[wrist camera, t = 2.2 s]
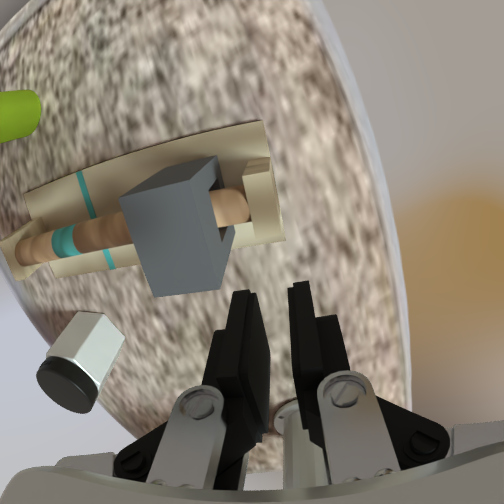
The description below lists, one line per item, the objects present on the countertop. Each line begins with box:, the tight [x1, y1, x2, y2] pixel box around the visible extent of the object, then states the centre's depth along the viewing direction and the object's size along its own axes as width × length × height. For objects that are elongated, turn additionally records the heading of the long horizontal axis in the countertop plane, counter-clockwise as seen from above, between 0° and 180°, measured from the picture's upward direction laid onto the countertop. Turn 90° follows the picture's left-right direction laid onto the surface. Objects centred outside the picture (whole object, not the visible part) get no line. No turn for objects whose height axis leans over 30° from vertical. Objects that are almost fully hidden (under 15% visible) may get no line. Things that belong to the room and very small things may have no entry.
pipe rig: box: [0, 120, 286, 281], centre depth 29 cm, size 12×30×8 cm, turn 102°
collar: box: [118, 155, 236, 297], centre depth 24 cm, size 8×5×10 cm, turn 12°
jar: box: [36, 311, 125, 414], centre depth 35 cm, size 9×8×12 cm
